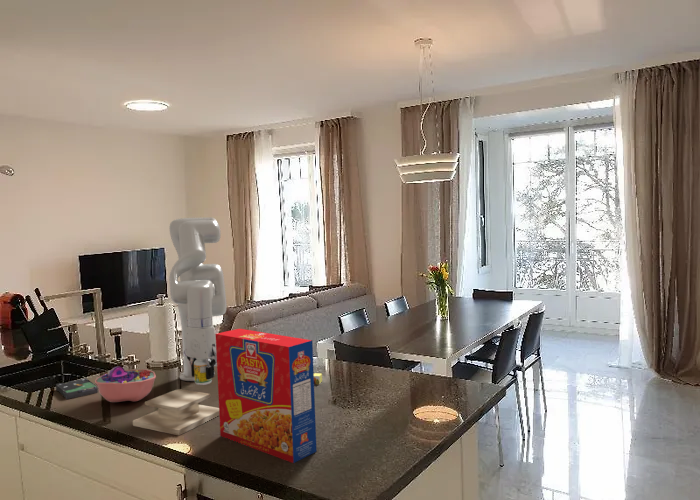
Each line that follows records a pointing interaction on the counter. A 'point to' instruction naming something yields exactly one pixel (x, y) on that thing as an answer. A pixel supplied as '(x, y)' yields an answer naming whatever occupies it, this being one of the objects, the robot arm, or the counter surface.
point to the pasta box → (267, 392)
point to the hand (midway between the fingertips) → (203, 376)
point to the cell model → (125, 384)
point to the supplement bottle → (201, 372)
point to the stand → (177, 412)
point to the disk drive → (76, 388)
